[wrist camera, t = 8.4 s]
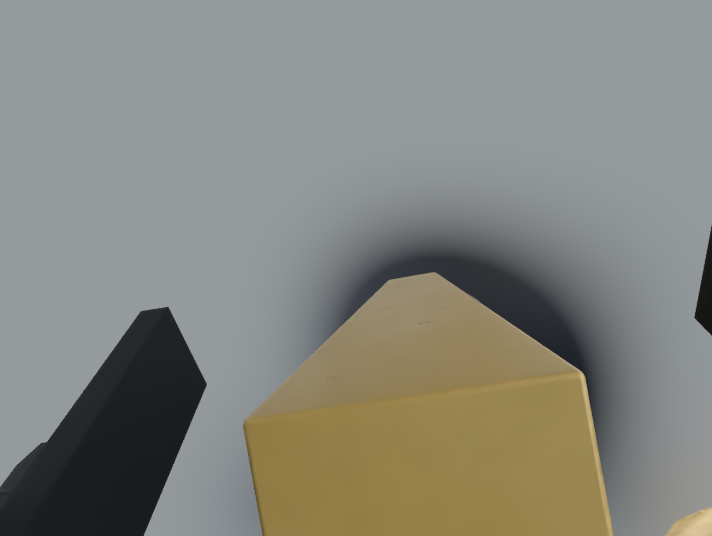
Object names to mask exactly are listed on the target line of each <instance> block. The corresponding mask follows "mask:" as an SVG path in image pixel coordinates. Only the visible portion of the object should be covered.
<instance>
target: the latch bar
mask: <svg viewBox="0 0 712 536" xmlns="http://www.w3.org/2000/svg"><path fill="white" fill-rule="evenodd" d="M243 429H244V434H245V440H246V445H247V451H248V456H249V461H250V467H251V473H252V478H253V484H254V489H255V495H256V500H257V506H258V512H259V517H260V523H261V528H262V533H263V536H613V530H612V525H611V519H610V514H609V508H608V503H607V497H606V491H605V486H604V480H603V475H602V469H601V464H600V459H599V453H598V448H597V441H596V436H595V430H594V425H593V419H592V414H591V409H590V403H589V397H588V391H587V386H586V380H585V376H584V375H583V373H582V372H581V371H580V370H578V369H577V368H575V367H574V366H572V365H571V364H569V363H568V362H566V361H565V360H563V359H562V358H560V357H559V356H558V355H556V354H554V353H553V352H552V351H550V350H549V349H547V348H546V347H544V346H543V345H541V344H540V343H538V342H537V341H535V340H534V339H532V338H531V337H530V336H528V335H527V334H525V333H524V332H522V331H521V330H519V329H518V328H516V327H515V326H513V325H512V324H510V323H509V322H507V321H506V320H505V319H503V318H502V317H500V316H499V315H497V314H496V313H494V312H492V311H491V310H490V309H488V308H487V307H485V306H484V305H482V304H481V303H479V302H478V301H477V300H475V299H474V298H472V297H471V296H469V295H468V294H466V293H465V292H463V291H462V290H460V289H459V288H457V287H456V286H454V285H453V284H451V283H450V282H449V281H447V280H446V279H444V278H443V277H441V276H440V275H438V274H436V273H435V272H433V273H428V274H422V275H416V276H410V277H404V278H399V279H393V280H389V281H388V282H387V283H386V284H385V285H383V286H382V287H381V288H380V289H379V290H378V291H377V292H376V293H375V294H374V295H373V296H372V297H371V298H370V299H369V300H368V301H367V302H366V303H365V304H364V305H363V306H362V307H361V308H360V309H359V310H358V311H357V312H356V313H355V314H354V315H353V316H352V317H351V318H349V319H348V320H347V321H346V322H345V323H344V324H343V325H342V326H341V327H340V328H339V329H338V330H337V331H336V332H335V333H334V334H333V335H332V336H331V337H330V338H329V339H328V340H327V341H326V342H325V343H324V344H323V345H322V346H321V347H320V348H319V349H317V350H316V351H315V352H314V353H313V354H312V355H311V356H310V357H309V358H308V359H307V360H306V361H305V362H304V363H303V364H302V365H301V366H300V367H299V368H298V369H297V370H296V371H295V372H294V373H293V374H292V375H291V376H290V377H289V378H288V379H287V380H285V382H283V383H282V384H281V385H280V386H279V387H278V388H277V389H276V390H275V391H274V392H273V393H272V394H271V395H270V396H269V397H268V398H267V399H266V400H265V401H264V402H263V403H262V404H261V405H260V406H259V407H258V408H257V409H256V410H255V411H254V412H253V413H252V414H250V415H249V416H248V417H247V418H246V419H245V420H244V424H243Z"/></svg>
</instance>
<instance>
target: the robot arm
mask: <svg viewBox="0 0 712 536" xmlns="http://www.w3.org/2000/svg"><path fill="white" fill-rule="evenodd" d="M695 319H696V320H697V321H698V322H699V323H700V324H701V325H702V326H703V327H704V328H705V329H706V330H707V331H708V332H709V333H710V334H711V335H712V227H711V233H710V238H709V243H708V249H707V254H706V259H705V265H704V270H703V275H702V280H701V286H700V291H699V296H698V302H697V308H696V312H695ZM206 385H207V384H206V382H205V380H204V378H203V376H202V374H201V372H200V370H199V368H198V366H197V364H196V362H195V360H194V358H193V356H192V354H191V352H190V350H189V348H188V346H187V344H186V342H185V340H184V338H183V336H182V334H181V332H180V330H179V328H178V326H177V324H176V322H175V319H174V318H173V315H172V313H171V311H170V309H169V307H165V308H158V309H152V310H147V311H141V312H140V313H139V315H138V316H137V318H136V319H135V320H134V322H133V323H132V324H131V326H130V327H129V329H128V330H127V331H126V333H125V334H124V336H123V337H122V338H121V340H120V341H119V343H118V344H117V345H116V347H115V348H114V350H113V351H112V352H111V354H110V355H109V357H108V358H107V359H106V361H105V362H104V363H103V365H102V366H101V368H100V369H99V370H98V372H97V373H96V375H95V376H94V377H93V379H92V380H91V382H90V383H89V384H88V386H87V387H86V389H85V390H84V391H83V393H82V394H81V396H80V397H79V398H78V400H77V401H76V403H75V404H74V405H73V407H72V408H71V410H70V411H69V412H68V414H67V415H66V416H65V418H64V419H63V421H62V422H61V423H60V425H59V426H58V428H57V429H56V430H55V432H54V433H53V435H52V436H51V437H50V439H49V440H48V441H47V442H46V443H41V444H40V445H38V446H37V448H35V449H34V450H33V451H32V452H31V453H30V454H29V455H28V456H26V457H25V458H24V459H23V460H22V461H21V462H20V463H19V464H18V465H17V466H16V467H15V468H14V469H13V471H12V472H11V473H10V475H9V476H8V478H7V479H6V480H5V482H4V483H3V484H2V486H1V487H0V536H144V533H145V531H146V528H147V526H148V524H149V521H150V519H151V516H152V514H153V512H154V509H155V507H156V505H157V502H158V500H159V497H160V495H161V493H162V490H163V488H164V486H165V483H166V481H167V478H168V476H169V474H170V471H171V469H172V466H173V464H174V462H175V459H176V457H177V454H178V452H179V450H180V447H181V445H182V443H183V440H184V438H185V435H186V433H187V431H188V428H189V426H190V423H191V421H192V419H193V416H194V414H195V411H196V409H197V407H198V404H199V402H200V400H201V397H202V395H203V392H204V390H205V388H206Z"/></svg>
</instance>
